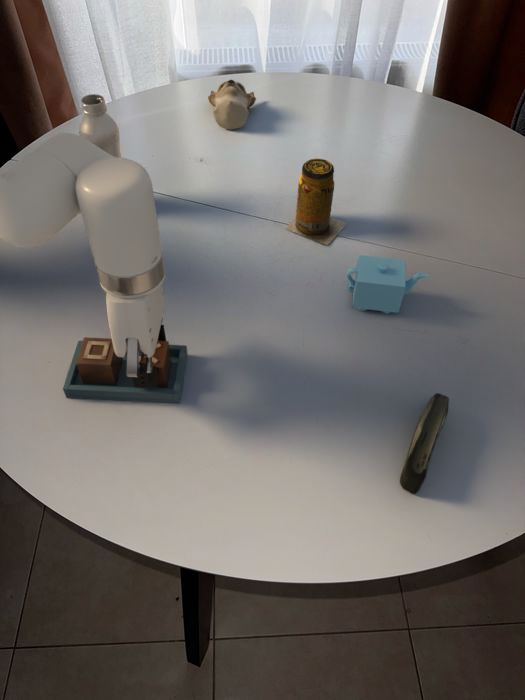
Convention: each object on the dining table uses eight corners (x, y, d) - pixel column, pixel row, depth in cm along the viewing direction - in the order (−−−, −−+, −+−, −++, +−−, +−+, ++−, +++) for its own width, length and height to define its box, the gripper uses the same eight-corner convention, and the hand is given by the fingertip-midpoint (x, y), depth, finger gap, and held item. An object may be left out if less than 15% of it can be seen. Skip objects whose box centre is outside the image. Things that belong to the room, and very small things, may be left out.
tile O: (83, 384, 80) (75, 362, 76) (91, 358, 83) (83, 336, 79) (116, 385, 80) (110, 364, 76) (123, 359, 83) (117, 337, 79)
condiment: (305, 208, 107) (311, 150, 98) (346, 224, 104) (355, 166, 95) (285, 229, 103) (288, 170, 94) (326, 246, 101) (334, 187, 91)
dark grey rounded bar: (428, 481, 67) (457, 384, 76) (403, 471, 68) (434, 376, 76) (418, 499, 71) (446, 405, 79) (395, 489, 72) (425, 397, 80)
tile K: (134, 386, 80) (128, 364, 76) (139, 360, 83) (134, 338, 79) (167, 388, 80) (163, 366, 76) (171, 361, 83) (168, 340, 79)
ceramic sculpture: (203, 93, 116) (207, 64, 126) (205, 134, 122) (209, 103, 133) (256, 94, 116) (256, 65, 127) (255, 136, 123) (255, 105, 133)
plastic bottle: (118, 220, 104) (96, 114, 89) (89, 208, 106) (62, 102, 91) (140, 201, 108) (122, 96, 92) (112, 190, 110) (89, 85, 94)
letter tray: (66, 397, 79) (62, 388, 78) (81, 349, 85) (78, 340, 83) (179, 403, 79) (178, 394, 77) (187, 354, 85) (186, 345, 83)
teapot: (418, 292, 94) (429, 256, 88) (419, 319, 90) (430, 284, 84) (343, 283, 95) (350, 248, 89) (341, 310, 91) (348, 274, 85)
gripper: (113, 217, 71) (135, 317, 85) (79, 321, 60) (110, 415, 74) (174, 220, 71) (186, 319, 85) (150, 324, 60) (169, 418, 74)
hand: (150, 363), depth 80 cm, fingers open, 6 cm apart
